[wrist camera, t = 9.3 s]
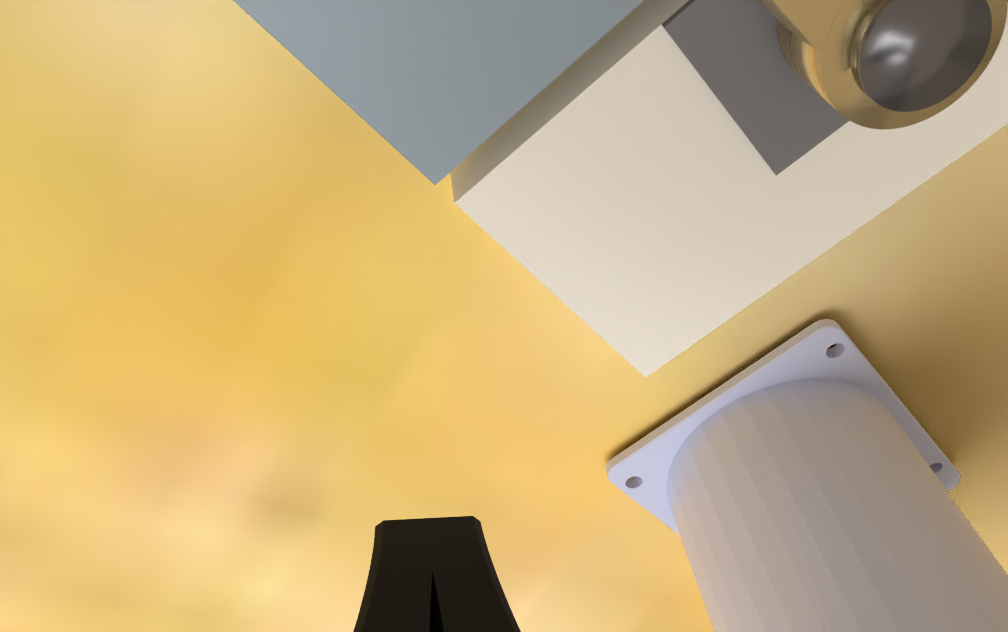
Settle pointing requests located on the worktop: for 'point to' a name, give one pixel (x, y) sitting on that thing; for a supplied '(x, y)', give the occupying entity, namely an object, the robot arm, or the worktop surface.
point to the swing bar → (889, 53)
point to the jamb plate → (695, 172)
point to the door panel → (437, 61)
